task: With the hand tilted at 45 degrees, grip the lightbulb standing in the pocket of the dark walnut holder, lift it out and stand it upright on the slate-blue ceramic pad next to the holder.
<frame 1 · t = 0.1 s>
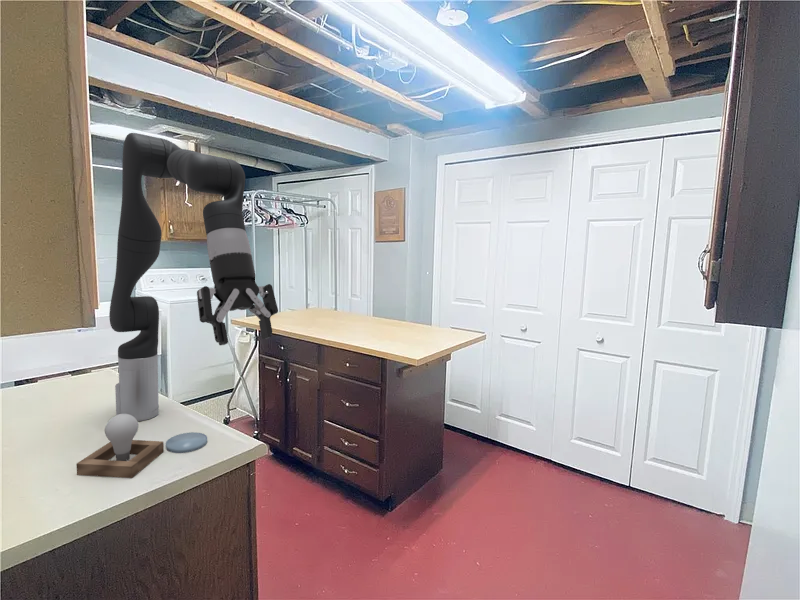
hand: (246, 341, 78), 31 cm above the counter, tool tilted 20°, fingers open, 8 cm apart
holder: (122, 462, 94), on the counter
lightbulb: (122, 463, 94), resting in holder
pad: (186, 444, 104), on the counter
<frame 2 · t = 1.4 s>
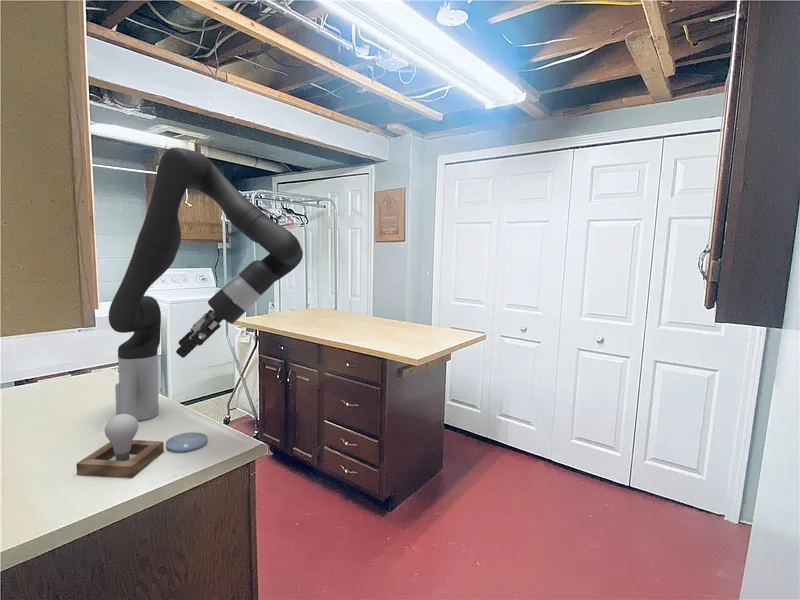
hand: (180, 350, 96), 25 cm above the counter, tool tilted 45°, fingers open, 8 cm apart
nothing on the counter moved.
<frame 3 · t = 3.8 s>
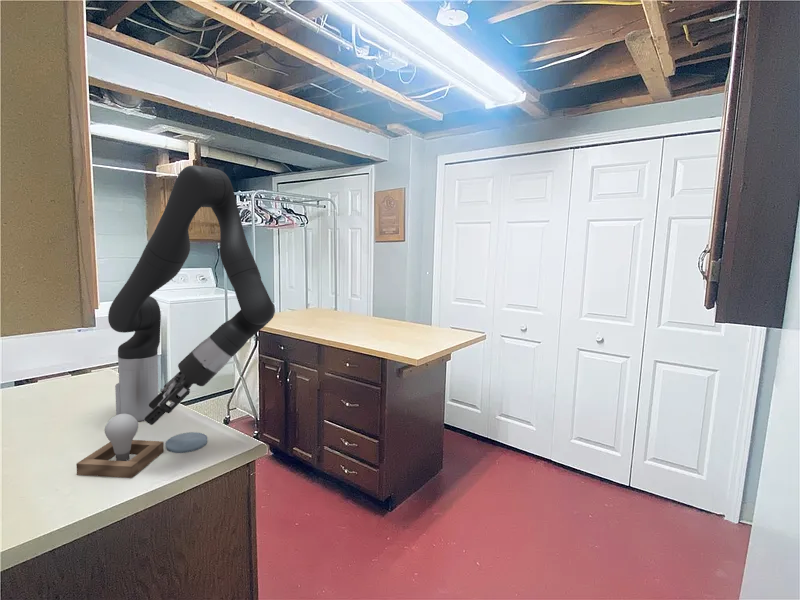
hand: (149, 414, 95), 10 cm above the counter, tool tilted 45°, fingers open, 8 cm apart
nothing on the counter moved.
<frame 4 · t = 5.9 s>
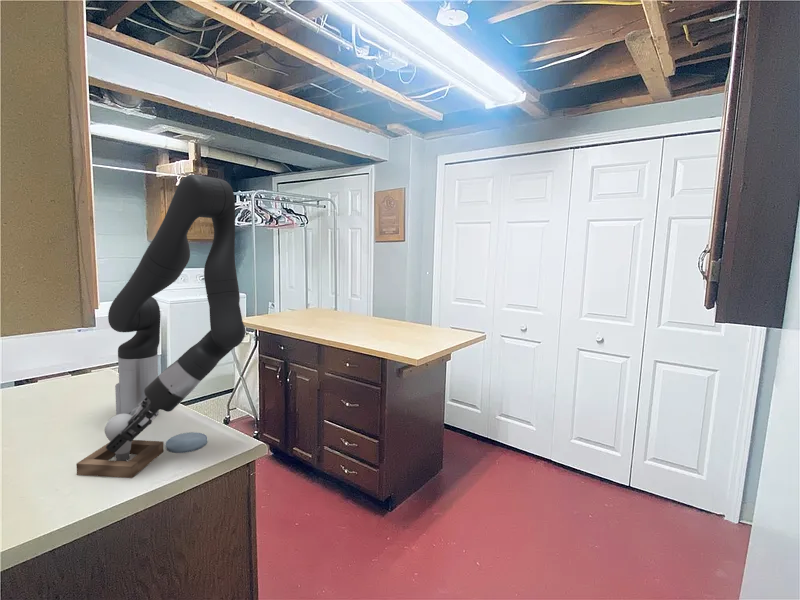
hand: (112, 443, 92), 5 cm above the counter, tool tilted 45°, fingers closed on lightbulb, 6 cm apart
lightbulb: (122, 463, 94), resting in holder, touching gripper
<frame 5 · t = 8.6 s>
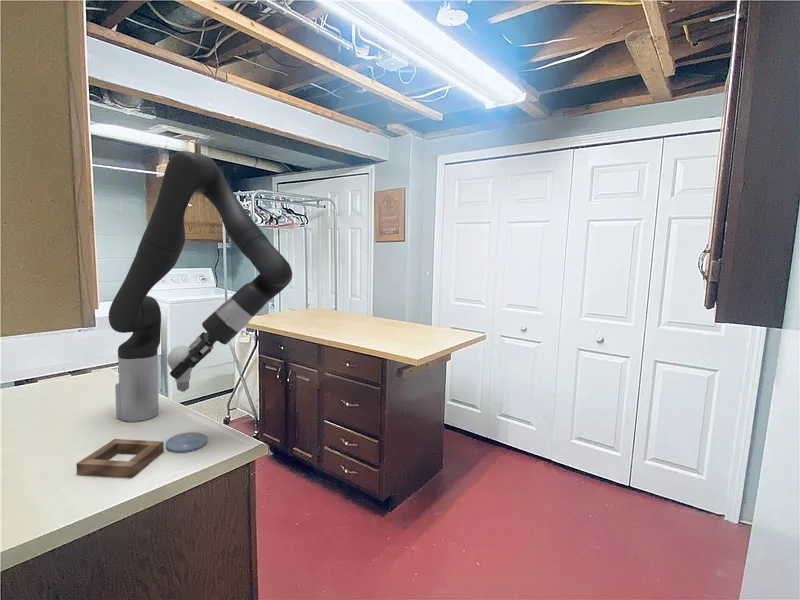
hand: (174, 372, 100), 18 cm above the counter, tool tilted 45°, fingers closed on lightbulb, 6 cm apart
lightbulb: (183, 392, 101), point 13 cm above the counter, touching gripper
when the fingers open (7 cm above the counter, at t = 11.4 s): lightbulb stays where it is, resting on pad.
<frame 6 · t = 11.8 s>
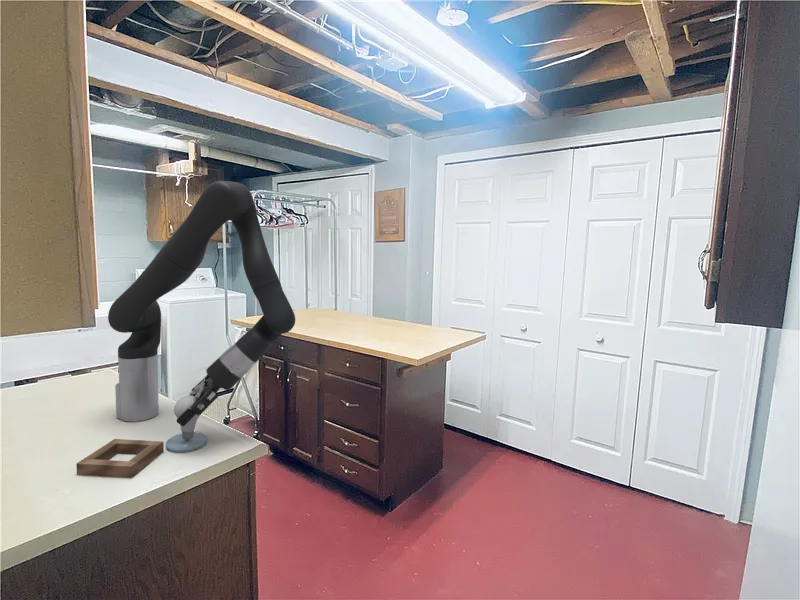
hand: (180, 416, 102), 7 cm above the counter, tool tilted 45°, fingers open, 8 cm apart
lightbulb: (187, 440, 104), point 1 cm above the counter, touching pad
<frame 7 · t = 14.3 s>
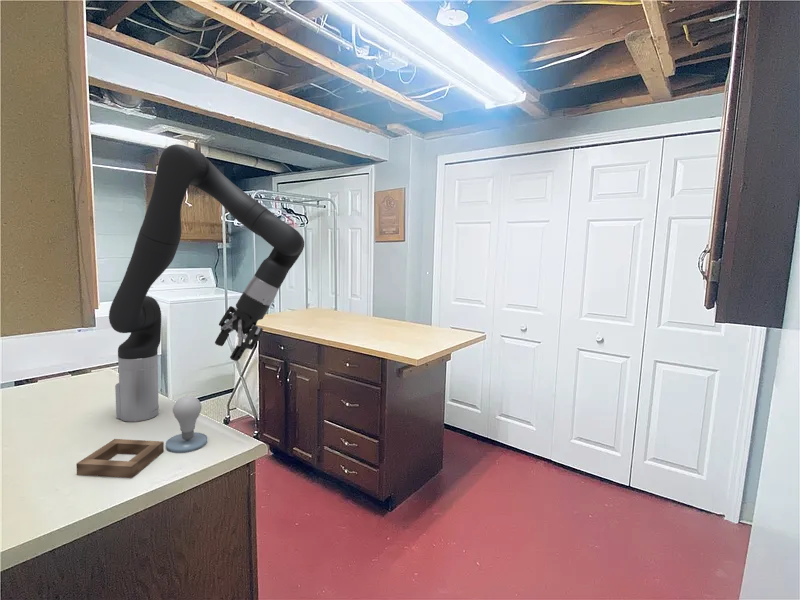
hand: (225, 352, 110), 21 cm above the counter, tool tilted 30°, fingers open, 8 cm apart
nothing on the counter moved.
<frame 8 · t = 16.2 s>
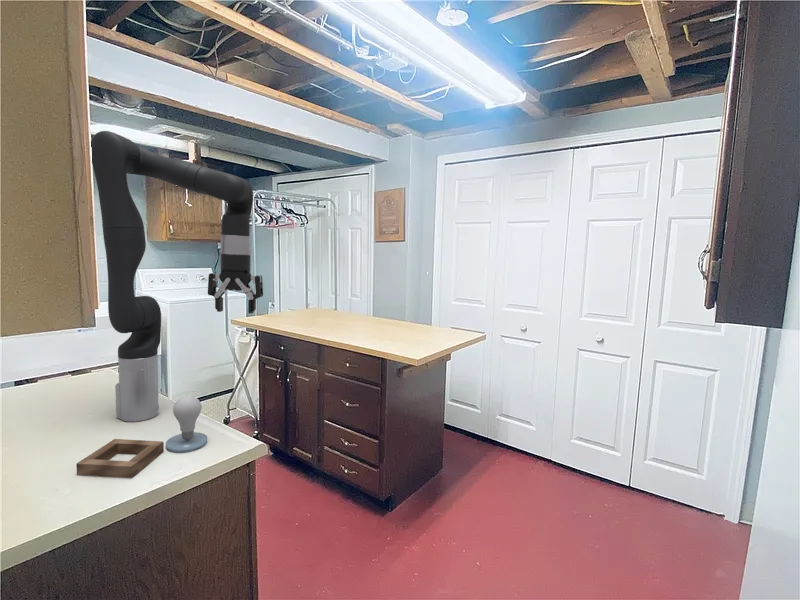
hand: (235, 312, 117), 30 cm above the counter, tool pointing down, fingers open, 8 cm apart
nothing on the counter moved.
at the end: lightbulb 0.2 cm from the pad (horizontally); lightbulb tilted 0°; the gripper is holding nothing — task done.
